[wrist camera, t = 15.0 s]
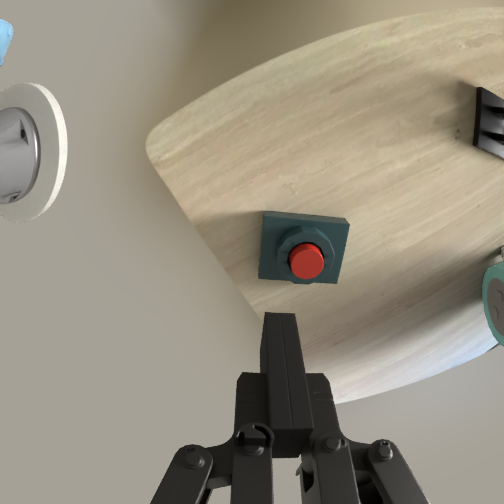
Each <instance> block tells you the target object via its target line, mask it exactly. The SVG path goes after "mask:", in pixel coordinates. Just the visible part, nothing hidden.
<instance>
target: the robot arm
mask: <svg viewBox="0 0 504 504" xmlns="http://www.w3.org/2000/svg"><path fill="white" fill-rule="evenodd" d="M12 36H13V28H12V26H11V25H10V24H9V23H8V22H6V21H4V20H1V19H0V66H2V64H3V58H4V55H5V53H6V51H7V48H8V46H9V43H10V41H11V39H12ZM40 160H41V144H40V137H39V132H38V129H37V126H36V123H35V121H34V119H33V118H32V116H31V115H30V114H29V113H28V112H27V111H26V110H25V109H23V108H20V107H10V108H5V109H2V110H0V204H9V203H13V202H16V201H18V200H20V199H22V198H24V197H25V196H26V195H27V194H28V193H29V192H30V191H31V189H32V188H33V186H34V184H35V182H36V179H37V176H38V172H39V168H40ZM331 392H332V391H331V387H330V383H329V381H328V379H327V378H326V377H325V375H324V374H323V373H305V367H304V361H303V355H302V350H301V344H300V338H299V333H298V327H297V322H296V317H295V314H292V313H272V312H265V316H264V324H263V332H262V340H261V346H260V373H249V372H242V374H241V375H240V377H239V378H238V380H237V388H236V403H235V404H236V405H235V423H234V433H233V435H232V437H231V438H230V439H229V440H228V441H227V442H225V443H224V444H221V445H218V446H213V447H208V448H204V447H202V446H200V445H193V444H192V445H186V446H184V447H182V448H180V449H179V450H178V451H177V452H176V454H175V456H174V458H173V460H172V462H171V463H170V465H169V468H168V469H167V471H166V473H165V476H164V478H163V479H162V481H161V483H160V485H159V487H158V489H157V491H156V493H155V495H154V497H153V499H152V501H151V503H150V504H207V503H208V501H209V498H210V496H211V493H212V491H213V489H215V488H220V487H225V486H230V485H231V500H230V504H274V498H273V472H272V458H298V457H299V455H300V454H301V460H302V463H301V464H300V466H299V468H298V469H297V471H296V476H297V475H299V474H300V484H301V496H302V504H430V502H429V500H428V499H427V497H426V495H425V494H424V492H423V490H422V488H421V487H420V485H419V483H418V482H417V480H416V478H415V477H414V475H413V473H412V471H411V470H410V468H409V466H408V465H407V463H406V461H405V460H404V458H403V456H402V455H401V453H400V451H399V450H398V448H397V446H396V445H395V444H394V443H393V442H391V441H389V440H384V439H381V440H376V441H375V442H373V443H372V444H365V443H359V442H354V441H351V440H349V439H348V438H346V437H345V436H344V435H343V434H342V432H341V430H340V427H339V423H338V418H337V414H336V409H335V404H334V401H333V396H332V393H331Z"/></svg>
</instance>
